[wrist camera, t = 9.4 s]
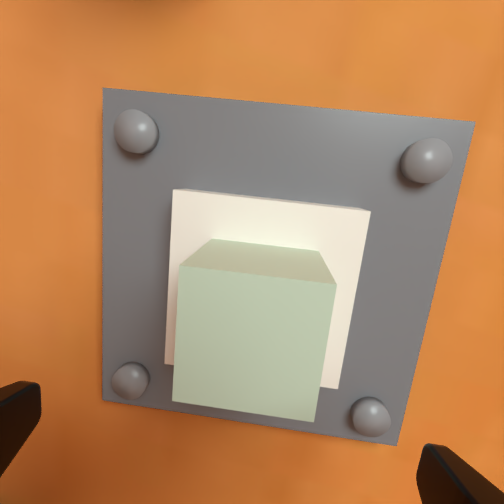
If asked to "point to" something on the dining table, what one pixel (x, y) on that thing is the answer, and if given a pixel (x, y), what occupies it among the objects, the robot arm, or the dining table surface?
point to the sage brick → (252, 328)
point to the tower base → (291, 173)
